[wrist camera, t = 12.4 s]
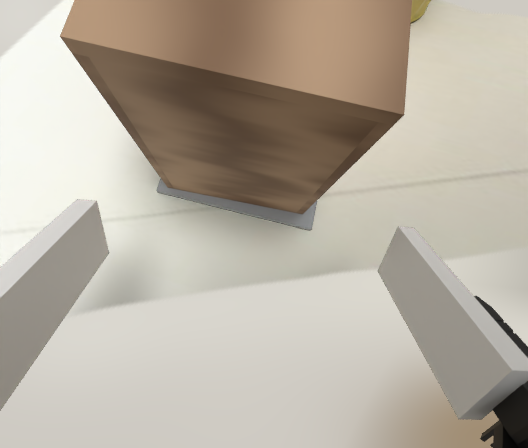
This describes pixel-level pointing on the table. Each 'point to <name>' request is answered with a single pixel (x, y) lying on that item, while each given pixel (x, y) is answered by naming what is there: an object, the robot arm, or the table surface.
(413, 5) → the vase
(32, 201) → the table surface
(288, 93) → the brown wooden block
